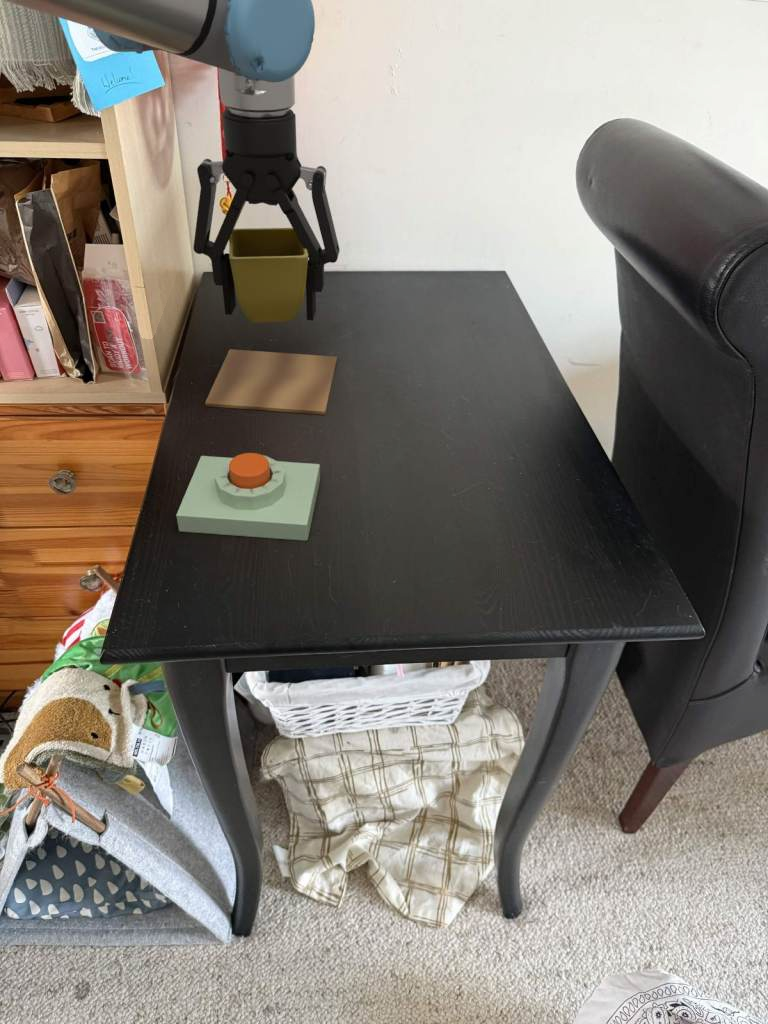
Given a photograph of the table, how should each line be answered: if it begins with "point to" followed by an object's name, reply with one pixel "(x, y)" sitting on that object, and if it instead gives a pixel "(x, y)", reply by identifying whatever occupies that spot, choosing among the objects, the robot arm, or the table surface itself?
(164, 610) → the table surface
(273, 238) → the flower pot
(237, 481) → the round orange button
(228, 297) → the robot arm
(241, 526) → the green button base
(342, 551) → the table surface
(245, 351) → the brown wooden board
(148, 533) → the table surface
